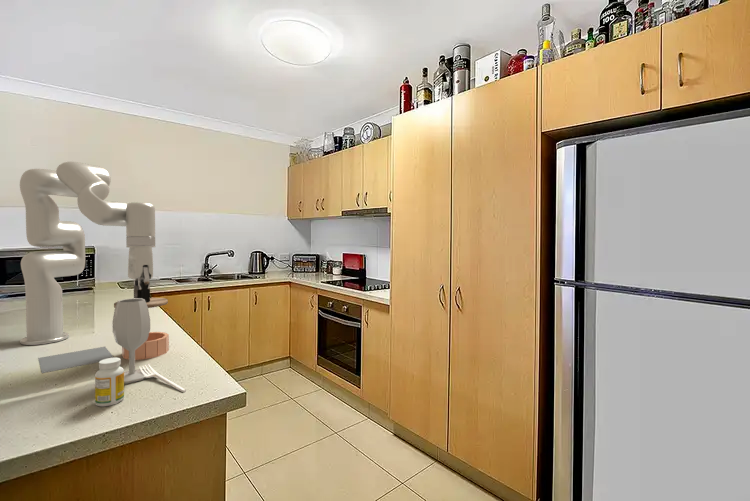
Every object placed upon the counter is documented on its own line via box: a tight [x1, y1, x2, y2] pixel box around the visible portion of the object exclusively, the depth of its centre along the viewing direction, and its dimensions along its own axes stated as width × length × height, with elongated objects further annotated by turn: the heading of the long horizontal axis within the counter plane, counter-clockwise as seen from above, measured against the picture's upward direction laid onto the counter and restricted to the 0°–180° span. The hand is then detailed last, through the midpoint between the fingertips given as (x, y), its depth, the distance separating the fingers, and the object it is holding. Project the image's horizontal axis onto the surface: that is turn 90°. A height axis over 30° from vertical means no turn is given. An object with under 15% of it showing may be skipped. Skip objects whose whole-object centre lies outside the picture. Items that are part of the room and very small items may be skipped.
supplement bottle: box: [94, 357, 125, 407], centre depth 81 cm, size 5×5×10 cm
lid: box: [113, 285, 169, 309], centre depth 110 cm, size 14×14×6 cm
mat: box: [38, 346, 115, 374], centre depth 106 cm, size 16×16×1 cm
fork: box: [138, 363, 186, 393], centre depth 92 cm, size 3×20×2 cm, turn 58°
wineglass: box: [112, 297, 151, 385], centre depth 94 cm, size 9×9×21 cm
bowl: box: [121, 331, 170, 361], centre depth 112 cm, size 12×12×6 cm
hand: (141, 300), depth 111 cm, fingers closed on lid, 4 cm apart
